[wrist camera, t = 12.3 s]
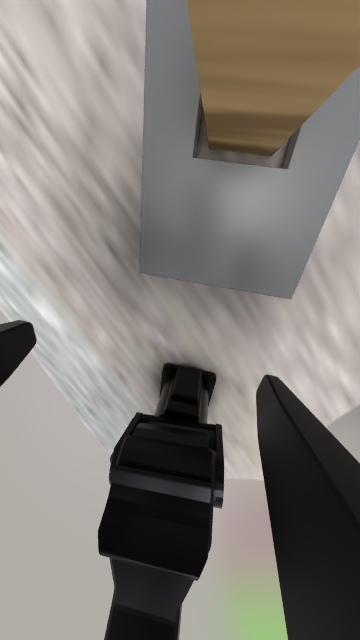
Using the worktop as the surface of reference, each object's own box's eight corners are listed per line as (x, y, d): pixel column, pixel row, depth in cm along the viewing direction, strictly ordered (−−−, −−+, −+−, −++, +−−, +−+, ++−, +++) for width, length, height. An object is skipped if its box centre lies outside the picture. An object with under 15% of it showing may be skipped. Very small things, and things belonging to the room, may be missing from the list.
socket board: (284, 290, 18) (291, 299, 17) (146, 267, 20) (139, 272, 18) (398, 6, 11) (433, -34, 9) (158, -7, 12) (147, -45, 10)
